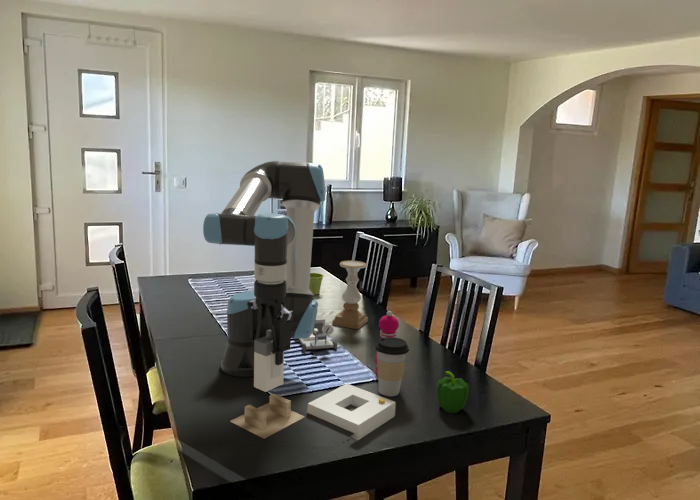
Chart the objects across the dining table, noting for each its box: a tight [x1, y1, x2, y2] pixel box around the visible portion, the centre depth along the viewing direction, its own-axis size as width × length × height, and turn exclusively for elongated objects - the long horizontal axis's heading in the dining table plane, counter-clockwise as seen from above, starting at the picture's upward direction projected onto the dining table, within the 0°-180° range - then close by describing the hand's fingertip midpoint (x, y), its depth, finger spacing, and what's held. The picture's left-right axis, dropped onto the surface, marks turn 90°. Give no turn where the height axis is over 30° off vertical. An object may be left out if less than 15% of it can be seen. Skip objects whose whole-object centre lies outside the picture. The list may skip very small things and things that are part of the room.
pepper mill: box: [374, 310, 400, 376], centre depth 169 cm, size 7×7×20 cm
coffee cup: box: [375, 337, 410, 397], centre depth 157 cm, size 9×9×15 cm
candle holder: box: [331, 260, 369, 330], centre depth 214 cm, size 11×11×24 cm
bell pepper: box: [436, 370, 470, 414], centre depth 149 cm, size 8×8×10 cm
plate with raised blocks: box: [229, 393, 306, 440], centre depth 136 cm, size 12×14×6 cm
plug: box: [253, 330, 285, 393], centre depth 134 cm, size 4×6×14 cm, turn 142°
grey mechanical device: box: [298, 318, 338, 353], centre depth 191 cm, size 18×10×12 cm
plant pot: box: [309, 272, 324, 296], centre depth 254 cm, size 9×9×9 cm
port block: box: [307, 383, 397, 441], centre depth 142 cm, size 16×16×5 cm
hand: (268, 373), depth 135 cm, fingers closed on plug, 4 cm apart
